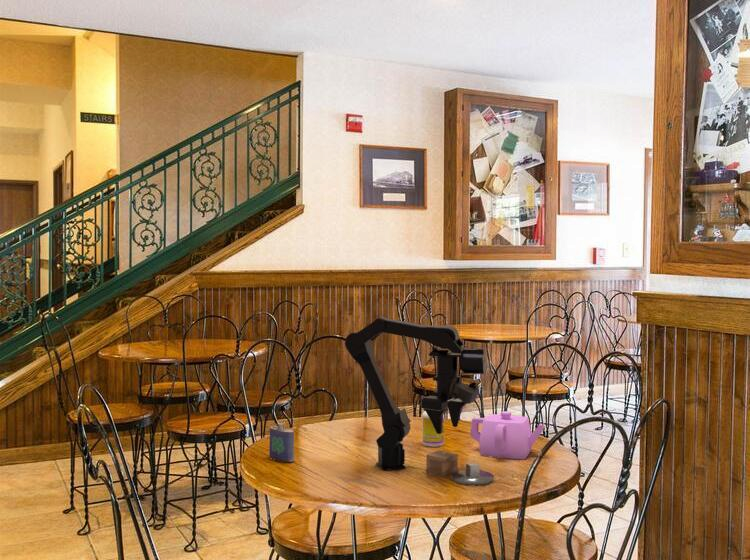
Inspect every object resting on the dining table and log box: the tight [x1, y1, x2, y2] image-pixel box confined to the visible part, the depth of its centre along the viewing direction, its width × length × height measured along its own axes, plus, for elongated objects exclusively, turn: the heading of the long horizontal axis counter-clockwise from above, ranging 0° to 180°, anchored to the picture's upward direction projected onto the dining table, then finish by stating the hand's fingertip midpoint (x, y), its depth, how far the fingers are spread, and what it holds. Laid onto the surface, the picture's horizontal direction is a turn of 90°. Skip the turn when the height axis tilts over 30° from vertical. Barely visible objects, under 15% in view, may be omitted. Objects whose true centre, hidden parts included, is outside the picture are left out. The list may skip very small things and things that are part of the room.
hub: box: [450, 462, 495, 487], centre depth 190 cm, size 11×11×4 cm
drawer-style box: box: [426, 449, 459, 478], centre depth 196 cm, size 6×6×5 cm
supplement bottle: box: [421, 410, 445, 448], centre depth 226 cm, size 7×7×13 cm
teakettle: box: [469, 410, 546, 460], centre depth 216 cm, size 17×17×12 cm
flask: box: [268, 422, 295, 463], centre depth 208 cm, size 9×3×11 cm, turn 50°
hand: (447, 430), depth 197 cm, fingers open, 9 cm apart
